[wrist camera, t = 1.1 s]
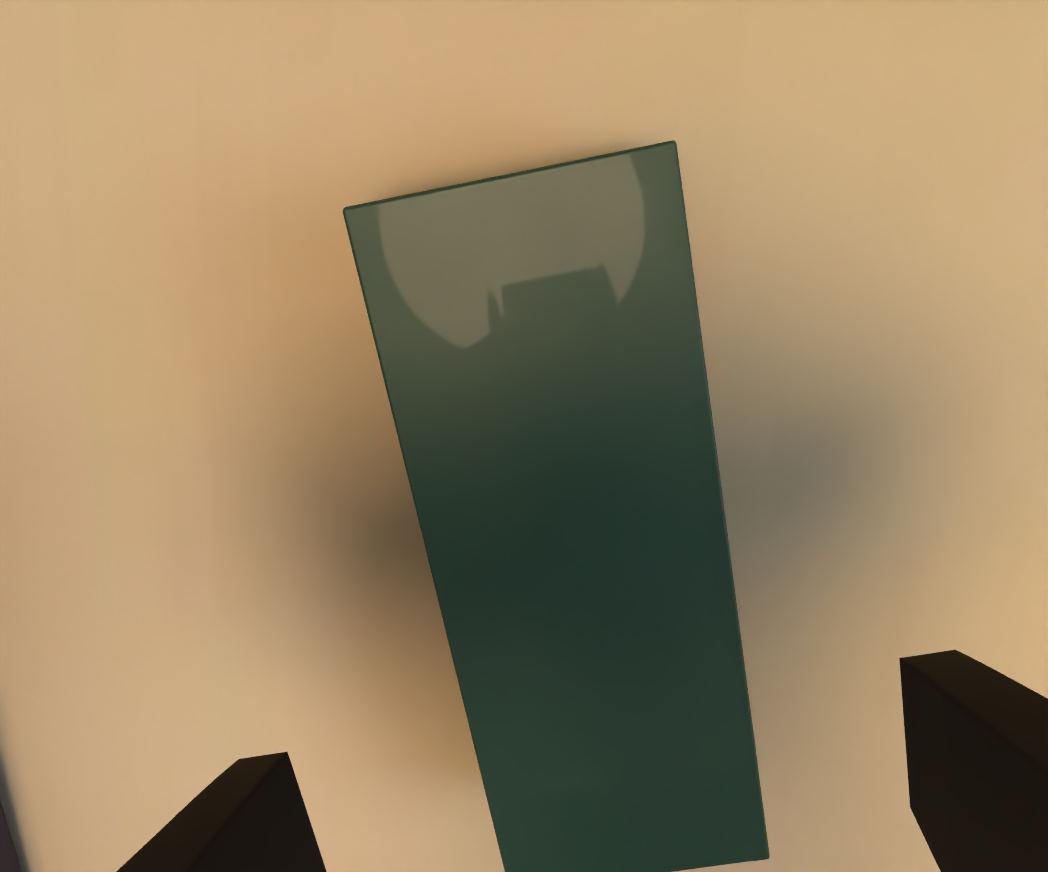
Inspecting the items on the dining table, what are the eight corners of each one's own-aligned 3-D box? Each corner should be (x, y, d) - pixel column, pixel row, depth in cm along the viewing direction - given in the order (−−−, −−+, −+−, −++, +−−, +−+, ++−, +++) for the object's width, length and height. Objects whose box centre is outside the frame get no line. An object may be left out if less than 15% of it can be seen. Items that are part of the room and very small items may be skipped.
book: (735, 760, 19) (770, 859, 16) (515, 792, 19) (509, 894, 17) (650, 151, 15) (676, 140, 12) (378, 206, 16) (340, 207, 13)
